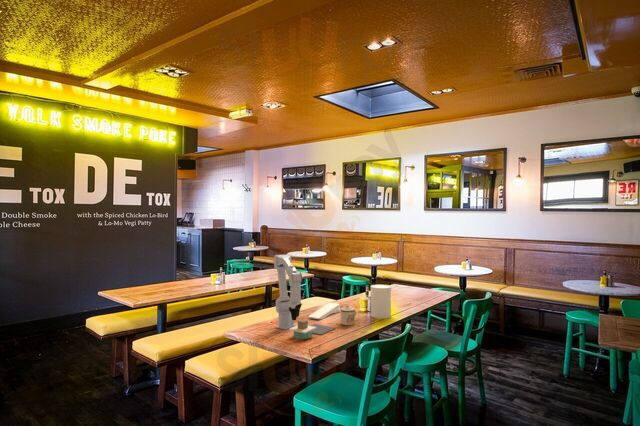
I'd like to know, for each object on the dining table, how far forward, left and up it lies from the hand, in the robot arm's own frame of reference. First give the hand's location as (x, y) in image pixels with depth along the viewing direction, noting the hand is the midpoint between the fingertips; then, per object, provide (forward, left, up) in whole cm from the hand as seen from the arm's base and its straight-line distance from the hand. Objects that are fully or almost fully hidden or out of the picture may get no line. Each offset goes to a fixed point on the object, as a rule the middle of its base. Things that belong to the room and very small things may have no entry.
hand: (295, 318), depth 217 cm
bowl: (-3, +3, -10) cm, 11 cm away
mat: (-18, +3, -10) cm, 21 cm away
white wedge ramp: (-49, -13, -11) cm, 52 cm away
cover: (-3, +3, -6) cm, 8 cm away
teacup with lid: (-41, +11, -11) cm, 44 cm away
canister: (-68, +20, -11) cm, 72 cm away
